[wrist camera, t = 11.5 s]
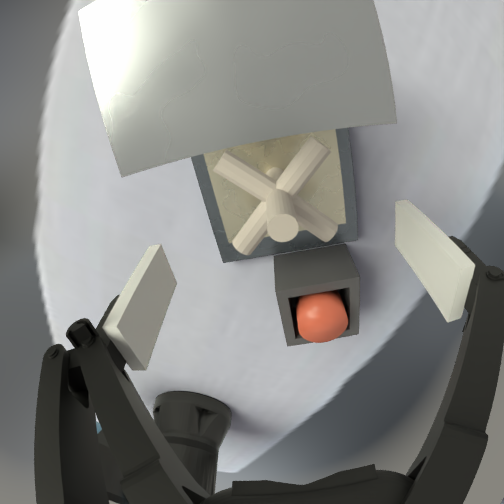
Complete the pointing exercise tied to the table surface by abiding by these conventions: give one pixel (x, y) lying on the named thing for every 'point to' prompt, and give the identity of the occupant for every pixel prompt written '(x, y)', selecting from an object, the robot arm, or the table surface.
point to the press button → (321, 316)
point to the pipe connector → (278, 197)
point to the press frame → (241, 96)
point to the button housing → (316, 285)
